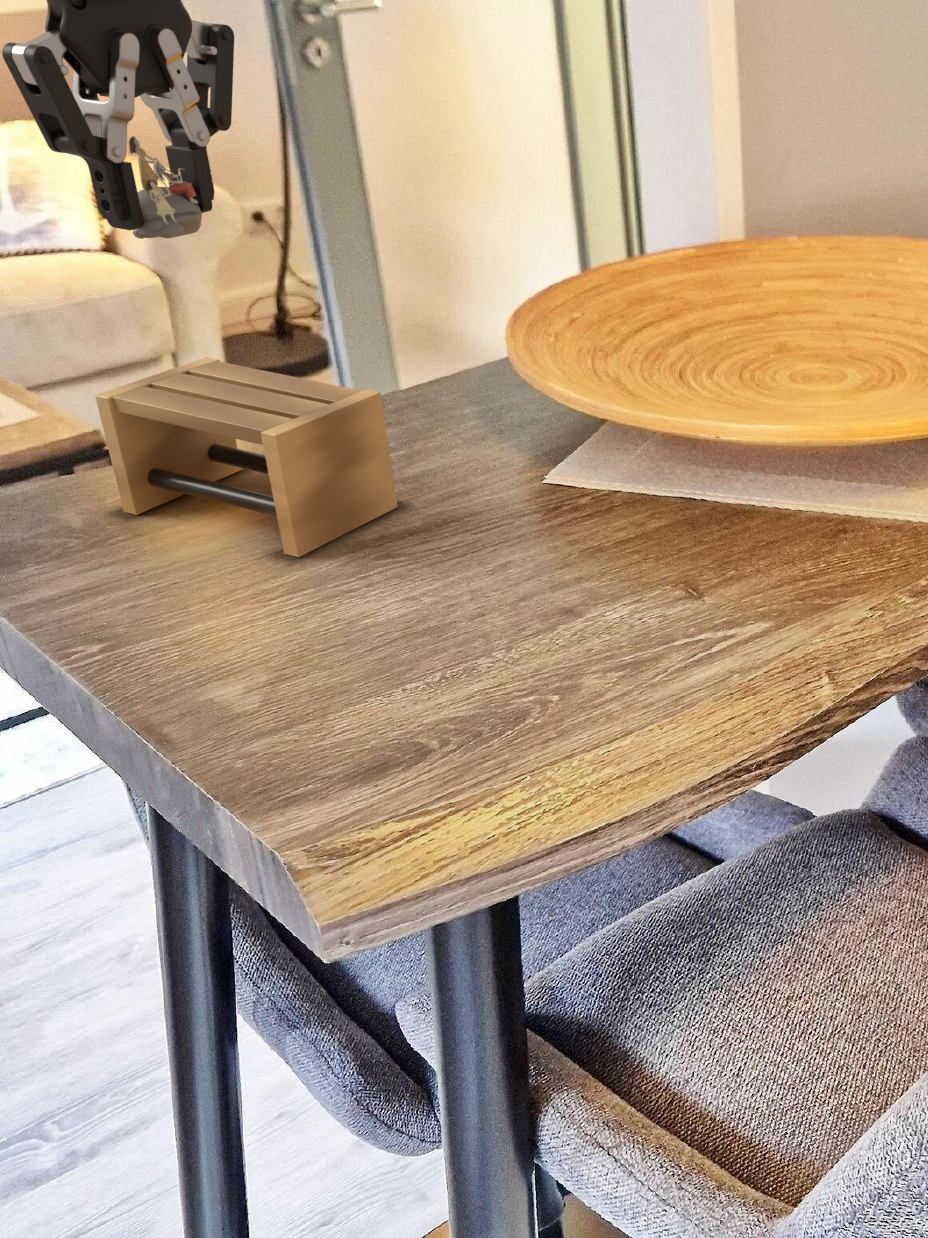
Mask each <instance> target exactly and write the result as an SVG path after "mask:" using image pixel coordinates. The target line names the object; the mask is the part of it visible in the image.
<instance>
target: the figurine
mask: <svg viewBox="0 0 928 1238" xmlns="http://www.w3.org/2000/svg"><path fill="white" fill-rule="evenodd" d="M127 148H129V153H128V154H130V155H133V154H135V155H137V156H138V157H139V158H137V163H138V170H139V178H140V183H141V187H142V189H141V190H139V191H137V192H138V197H139V202H140V206H141V211H142V215H143V220H144V225H143V227H142V228H138V229H134V230H132V234H133V236H134V237H135V238H137V239H140V240H143V239H154V238H163V239H173V238H178V237H181V236H182V237H183V236H187V235H191V234H195V233H197V232H198V231H199V230H200V228H201V225H202V218H203V213H202V212H201V210H200V207H199V206H198V205H196V204H198V202H197V200H195V199H193V198H192V197H194V196H196V193H195V190H194V188H193V185H192V184H191V183H187V182H184V181H182V177H181V171H179V170H180V169H182V168H178V172H179V173H178V175H174V174H173V173H172V172H171V171H170V169H169V170H168V169H167V168H166V167H165V166H164V165H163V164H162V163H161V162H160V160H159V159H158V158H157V157H151V156H149V155H148V154H147V153H146V151H145V150H144V148H142V147H141V143H140V141H139V140H138V139H137V138H136V136H135V135H134V136H133V135H132V136H131V137H130V138H129V140H128V147H127ZM146 158H147V159H146ZM150 160H151V161H150ZM150 164H152V165H153V166H152V167H151V165H150ZM182 170H185V169H182ZM171 174H172V175H174V177H173V176H172V175H171ZM178 176H180V178H181V181H180V180H179V179H178ZM172 178H177V180H178V181H173V179H172ZM166 180H167V181H168V186H167V184H166ZM159 182H160V184H163V185H164V186H158V185H159V184H158V183H159ZM182 193H185V196H186V197H187V198H189V199H190V200H188V199H187V198H185V197H184V196H182V195H180V194H182ZM195 203H196V204H195Z"/></svg>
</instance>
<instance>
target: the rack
mask: <svg viewBox="0 0 928 1238" xmlns="http://www.w3.org/2000/svg"><path fill="white" fill-rule="evenodd" d="M94 397H95V403H96V406H97V409H98V413H99V418H100V422H101V425H102V430H103V434H104V437H105V441H106V445H107V449H108V453H109V454H108V455H109V458H110V462H111V465H112V469H113V474H114V479H115V482H116V486H117V489H118V493H119V494H118V495H119V498H120V502H121V506H122V510H123V512H124V513H127V514H130V515H135V516H138V515H140V514H142V513H145V512H147V511H149V510H152V509H155V508H157V507H159V506H161V505H163V504H165V503H168V502H170V501H173V500H175V499H178V498H180V497H182V496H185V495H188V496H192V497H196V498H200V499H204V500H208V501H212V502H215V503H216V502H217V503H221V504H225V505H229V506H233V507H237V508H240V509H244V510H248V511H253V512H257V513H261V514H265V515H269V516H273V517H276V519H277V523H278V524H277V525H278V529H279V534H280V540H281V544H282V551H283V554H284V555H288V556H291V557H294V558H301V557H303V556H304V555H307V554H309V553H310V552H312V551H314V550H317V549H318V548H320V547H322V546H324V545H326V544H329V542H332V541H334V540H336V539H337V538H340V537H342V536H344V535H346V534H348V533H350V532H352V531H353V530H356V529H357V528H359V527H361V526H364V525H365V524H367V523H369V522H371V521H373V520H376V519H377V518H379V517H380V516H381V517H382V516H383V515H385V514H387V513H389V512H391V511H393V510H395V509H396V508H397V509H398V500H397V495H396V493H397V492H396V488H395V480H394V475H393V473H394V472H393V467H392V461H391V460H392V459H391V454H390V447H389V441H388V434H387V427H386V421H385V415H384V407H383V402H382V395H381V392H380V391H376V390H372V389H368V388H367V389H363V390H360V389H356V388H351V387H346V386H341V385H337V384H332V383H326V382H321V381H316V380H312V379H307V378H304V377H298V376H294V375H293V376H292V375H288V374H283V373H278V372H273V371H268V370H263V369H259V368H254V367H249V366H245V365H244V366H243V365H239V364H234V363H230V362H229V363H228V362H223V361H220V359H218V358H214V357H208V356H205V357H203V358H199V359H197V360H194V361H191V362H187V363H185V364H182V365H178V366H176V367H173V368H170V369H167V370H164V371H161V372H159V373H155V374H152V375H150V376H147V377H144V378H141V379H138V380H135V381H131V382H130V383H126V384H123V385H120V386H117V387H115V388H112V389H109V390H106V391H103V392H100V393H97V394H95V395H94ZM237 440H240V441H244V442H248V443H251V444H252V443H253V444H255V445H256V444H257V445H260V446H262V448H263V453H264V454H261V453H257V452H254V451H249V450H245V449H242V448H241V449H240V448H238V445H237ZM243 469H244V470H247V471H248V470H249V471H253V472H257V473H260V474H261V473H262V474H266V475H268V477H269V482H270V483H269V484H270V487H271V494H272V495H270V494H265V493H262V492H258V491H253V490H250V489H249V490H248V489H246V488H241V487H237V486H232V485H229V484H225V483H221V482H218V481H219V480H223V479H224V478H226V477H229V476H231V475H234V474H236V473H238V472H241V471H242V470H243Z"/></svg>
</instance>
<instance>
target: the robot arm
mask: <svg viewBox="0 0 928 1238" xmlns="http://www.w3.org/2000/svg"><path fill="white" fill-rule="evenodd" d="M46 3H47V14H46V19H45V23H44V24H45V25H44V31H45V32H44V33H41V34H39V35H38V36H36V37H34V38H32V39H30V40H28V41H26V42H7V43H6V44H4V45H3V47H2V50H1V54H2V59H3V60H4V62H5V65H6V66H7V68H8V71H9V72H10V74H11V76H12V78H13V80H14V82H15V84H16V86H17V88H18V90H19V92H20V94H21V96H22V98H23V100H24V101H25V104H26V105H27V107H28V110H29V111H30V113H31V115H32V117H33V119H34V121H35V123H36V126H37V127H38V130H39V131H40V133H41V135H42V137H43V138H44V140H45V142H46V145H47V147H48V148H49V149H50V150H51V151H52V152H54V153H61V154H68V155H73V156H75V157H76V156H77V157H79V158H82V159H83V160H84V161H85V163H86V165H87V167H88V171H89V176H90V180H91V184H92V188H93V192H94V197H95V200H96V205H97V206H96V207H97V209H98V213H99V214H100V215H101V217H102V219H104V220H106V221H107V223H108V224H109V226H110V227H111V228H114V229H120V230H126V231H133V230H134V229H138V228H142V227H143V225H144V220H143V215H142V211H141V206H140V202H139V197H138V192H139V191H138V188H137V183H136V179H135V175H134V174H135V173H134V169H133V166H132V162H129V161H125V160H126V157H127V149H128V147H127V144H128V125H129V122H130V121H133V118H134V116H135V98H138V97H140V99H141V101H142V102H143V104H144V105H145V106H146V107H148V108H149V109H150V110H151V111H152V113H153V115H154V117H155V119H156V121H157V123H158V125H159V128H160V129H161V132H162V133H163V136H164V138H165V139H166V141H167V142H169V143H171V144H170V145H165V147H164V149H165V152H166V157H167V162H168V167H169V171H171V172H172V173H173V174H174V175H178V173H179V172H178V168H182V169H185V170H182V169H180V170H179V171H181V177H182V181H184V182H187V183H191V184H192V185H193V188H194V190H195V193H196V196H194V197H192V198H193V199H195V200H197V202H198V204H196V203H195V204H196V205H198V206H199V207H200V210H201V212H202V214H204V213H208V212H211V211H212V210H213V201H214V199H215V186H214V182H213V176H212V175H213V174H211V173H212V170H211V166H210V161H209V156H208V151H207V150H208V149H207V146H208V145H209V143H210V141H211V138H212V136H214V135H215V134H217V133H218V132H219V131H221V132H226V131H228V130H229V129H231V126H232V118H233V117H232V116H233V114H232V113H233V87H234V86H233V85H234V61H235V60H234V59H235V32H234V30H233V29H232V27H231V26H230V25H228V24H224V23H223V24H221V23H213V22H212V23H211V22H202V21H198V20H194V19H192V18H191V15H190V13H189V12H188V10H187V9H186V7H185V5H184V3H183V1H182V0H46ZM185 54H186V64H185V61H184V58H185ZM64 61H65V62H66V64H67V65H69V67H70V68H71V70H72V74H71V77H72V78H71V87H70V85H69V83H68V81H67V79H66V76H67V75H68V74H69V68H68V66H66V65H65V64H64ZM209 90H210V94H209ZM99 96H100V97H107V99H106V100H104V101H100V99H99ZM170 174H171V173H170ZM171 175H172V174H171ZM174 175H172V176H173V177H174ZM172 179H173V181H178V180H177V178H172ZM178 179H179V180H180V181H181V178H180V176H178ZM180 195H182V196H184V197H185V198H187V197H186V196H185V193H182V194H180ZM187 199H188V200H190V199H189V198H187Z"/></svg>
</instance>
